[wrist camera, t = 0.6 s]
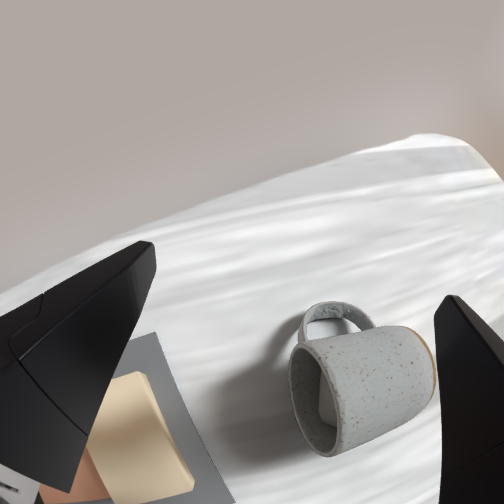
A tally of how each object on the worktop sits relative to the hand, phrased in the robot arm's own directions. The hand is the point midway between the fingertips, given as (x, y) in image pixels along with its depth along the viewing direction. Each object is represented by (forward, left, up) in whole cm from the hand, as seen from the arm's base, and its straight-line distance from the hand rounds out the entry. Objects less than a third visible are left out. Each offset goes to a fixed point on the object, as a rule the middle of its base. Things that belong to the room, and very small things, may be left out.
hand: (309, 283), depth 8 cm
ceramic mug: (+1, -6, -15) cm, 16 cm away
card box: (-9, +5, -14) cm, 17 cm away
